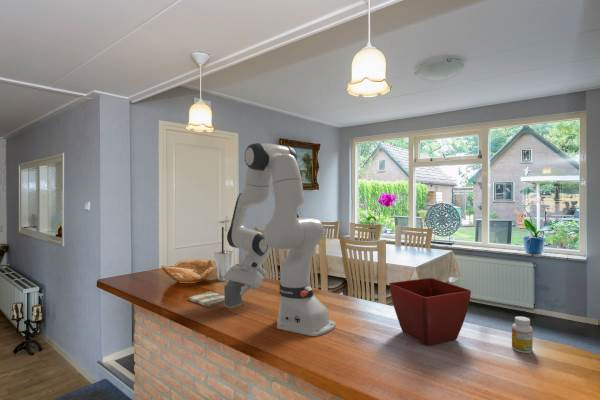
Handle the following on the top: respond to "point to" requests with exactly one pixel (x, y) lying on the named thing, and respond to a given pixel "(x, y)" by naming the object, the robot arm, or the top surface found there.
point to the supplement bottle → (522, 335)
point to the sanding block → (232, 295)
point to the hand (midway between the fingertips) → (232, 292)
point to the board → (208, 299)
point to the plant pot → (430, 309)
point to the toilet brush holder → (223, 260)
